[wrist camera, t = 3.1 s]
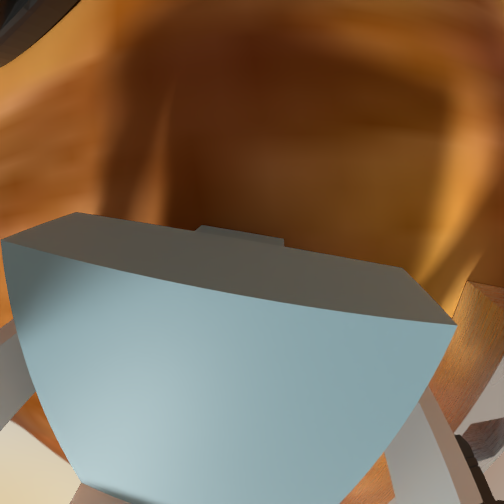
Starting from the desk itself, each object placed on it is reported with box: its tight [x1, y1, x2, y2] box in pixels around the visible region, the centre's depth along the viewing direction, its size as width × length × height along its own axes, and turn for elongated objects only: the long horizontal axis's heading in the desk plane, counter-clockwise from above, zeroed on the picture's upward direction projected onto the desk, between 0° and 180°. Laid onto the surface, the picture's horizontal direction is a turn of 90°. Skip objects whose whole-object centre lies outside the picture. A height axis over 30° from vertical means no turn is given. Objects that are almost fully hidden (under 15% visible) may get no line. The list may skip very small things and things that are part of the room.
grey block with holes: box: [339, 281, 504, 504], centre depth 12 cm, size 20×6×4 cm, turn 171°
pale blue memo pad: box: [1, 212, 458, 504], centre depth 9 cm, size 10×9×6 cm
